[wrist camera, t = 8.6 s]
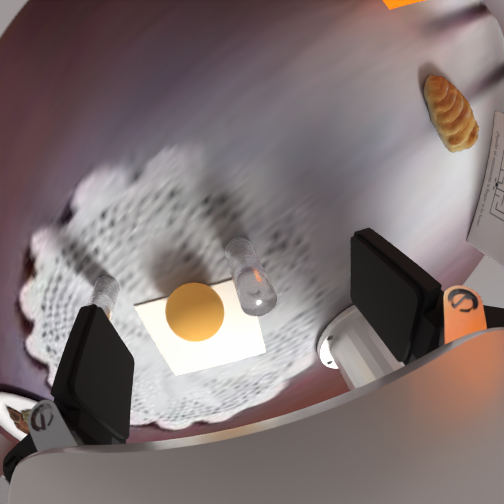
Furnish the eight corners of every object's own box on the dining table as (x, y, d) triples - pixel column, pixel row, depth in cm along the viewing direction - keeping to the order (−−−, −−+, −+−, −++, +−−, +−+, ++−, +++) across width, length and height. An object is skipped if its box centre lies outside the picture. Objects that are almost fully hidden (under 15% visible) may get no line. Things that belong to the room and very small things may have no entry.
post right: (254, 257, 27) (279, 310, 20) (228, 265, 27) (245, 320, 20) (249, 233, 26) (274, 282, 19) (221, 241, 26) (237, 293, 19)
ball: (237, 322, 23) (192, 273, 23) (191, 362, 23) (146, 316, 22) (236, 307, 28) (199, 267, 28) (197, 341, 28) (160, 303, 28)
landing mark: (265, 351, 34) (266, 352, 34) (175, 374, 33) (175, 375, 33) (246, 275, 28) (247, 276, 28) (134, 305, 27) (134, 307, 27)
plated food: (64, 386, 31) (60, 404, 28) (139, 459, 46) (140, 471, 43) (-35, 381, 27) (-40, 393, 24) (42, 452, 42) (41, 462, 39)
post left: (123, 294, 26) (110, 353, 19) (102, 300, 26) (85, 357, 19) (112, 273, 25) (94, 330, 18) (90, 279, 24) (68, 335, 18)
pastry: (408, 97, 23) (434, 99, 19) (432, 62, 21) (456, 62, 18) (446, 154, 27) (468, 162, 24) (466, 119, 25) (488, 124, 22)
